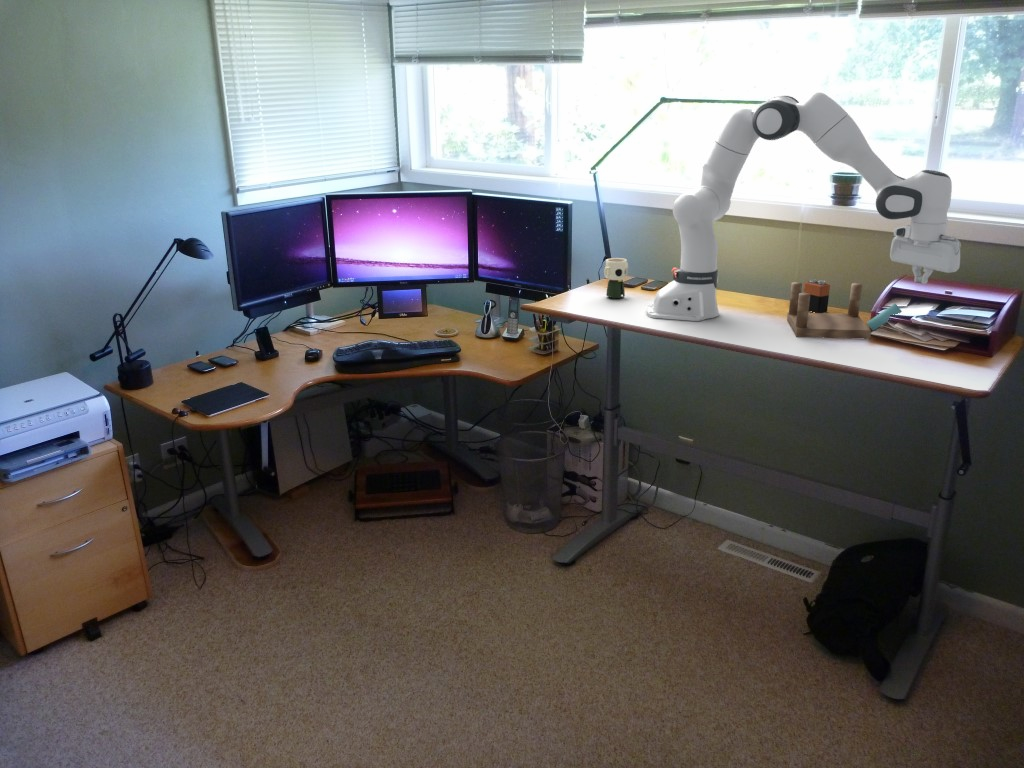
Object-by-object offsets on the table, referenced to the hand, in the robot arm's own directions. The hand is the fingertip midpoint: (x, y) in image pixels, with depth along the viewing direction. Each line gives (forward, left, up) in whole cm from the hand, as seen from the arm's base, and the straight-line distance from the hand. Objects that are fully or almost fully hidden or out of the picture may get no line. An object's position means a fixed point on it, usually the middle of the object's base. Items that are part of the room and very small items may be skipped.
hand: (920, 283), depth 230 cm
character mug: (-85, +40, -16) cm, 95 cm away
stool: (-22, +7, -16) cm, 28 cm away
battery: (-22, +28, -16) cm, 39 cm away
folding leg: (-12, 0, -13) cm, 17 cm away
